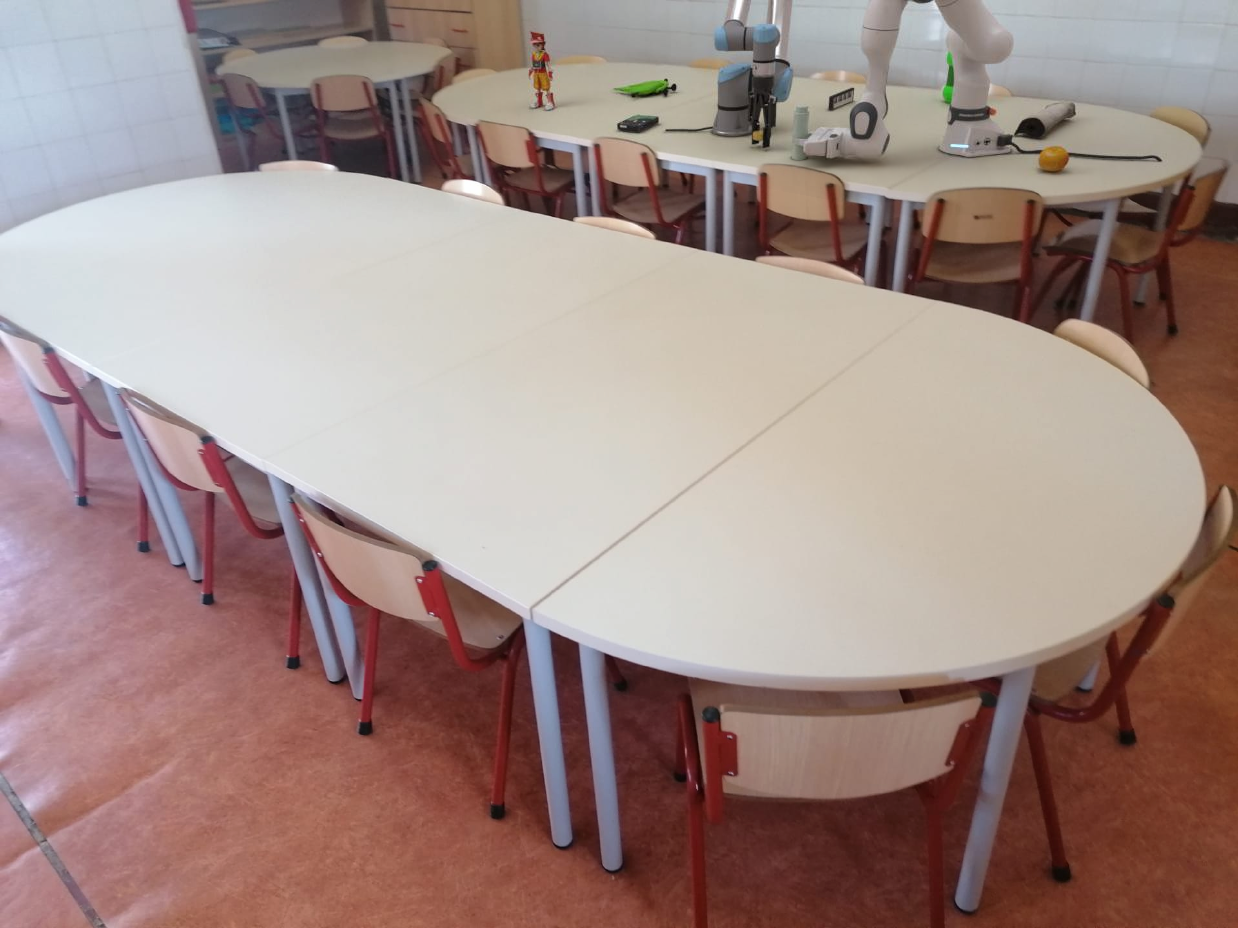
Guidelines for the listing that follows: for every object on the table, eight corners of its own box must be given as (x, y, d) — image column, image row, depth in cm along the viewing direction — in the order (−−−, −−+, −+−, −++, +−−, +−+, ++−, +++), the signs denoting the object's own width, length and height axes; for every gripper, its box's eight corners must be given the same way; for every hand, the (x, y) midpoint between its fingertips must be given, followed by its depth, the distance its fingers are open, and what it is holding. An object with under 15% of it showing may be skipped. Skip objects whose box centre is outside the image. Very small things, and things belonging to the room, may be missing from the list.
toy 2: (686, 85, 398) (631, 84, 414) (685, 72, 395) (629, 72, 411) (651, 104, 381) (596, 103, 397) (650, 92, 378) (594, 91, 394)
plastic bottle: (973, 101, 354) (984, 32, 339) (955, 106, 349) (966, 36, 335) (952, 97, 361) (962, 29, 346) (934, 102, 356) (944, 33, 342)
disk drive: (640, 133, 341) (659, 123, 351) (639, 126, 339) (659, 116, 349) (617, 131, 346) (636, 121, 356) (616, 123, 344) (636, 113, 354)
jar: (809, 158, 304) (812, 106, 295) (797, 161, 302) (800, 108, 293) (800, 155, 308) (803, 103, 298) (788, 157, 306) (791, 106, 296)
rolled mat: (1043, 107, 330) (1067, 89, 322) (1056, 128, 330) (1081, 111, 322) (1009, 129, 312) (1034, 111, 304) (1024, 151, 313) (1049, 134, 305)
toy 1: (525, 109, 381) (517, 32, 364) (534, 104, 388) (527, 28, 371) (550, 110, 377) (543, 32, 360) (559, 105, 384) (553, 28, 367)
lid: (757, 136, 318) (757, 129, 316) (771, 137, 315) (771, 131, 313) (749, 139, 314) (750, 133, 313) (764, 141, 311) (764, 135, 310)
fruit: (1033, 161, 277) (1052, 138, 274) (1031, 164, 284) (1049, 141, 281) (1057, 177, 275) (1075, 153, 272) (1054, 179, 283) (1072, 156, 280)
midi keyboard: (831, 110, 354) (832, 97, 351) (828, 110, 355) (829, 96, 352) (853, 101, 364) (854, 88, 361) (850, 100, 365) (851, 87, 362)
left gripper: (738, 73, 308) (736, 142, 321) (771, 81, 294) (768, 153, 307) (755, 70, 311) (753, 138, 324) (789, 77, 297) (785, 149, 310)
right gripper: (846, 123, 302) (806, 121, 308) (831, 140, 287) (789, 137, 293) (845, 142, 306) (805, 140, 311) (829, 160, 291) (788, 156, 296)
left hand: (760, 145), depth 316 cm, fingers closed on lid, 5 cm apart
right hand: (797, 138), depth 302 cm, fingers closed on jar, 5 cm apart
